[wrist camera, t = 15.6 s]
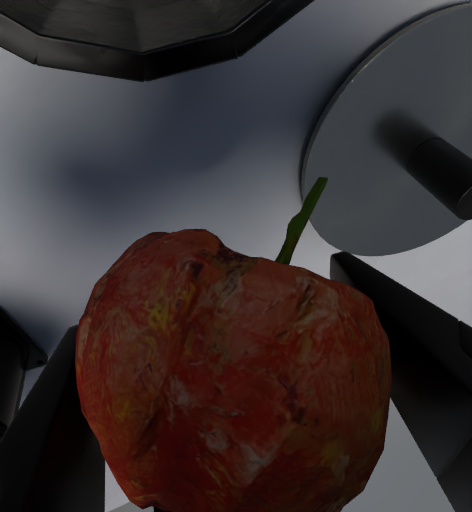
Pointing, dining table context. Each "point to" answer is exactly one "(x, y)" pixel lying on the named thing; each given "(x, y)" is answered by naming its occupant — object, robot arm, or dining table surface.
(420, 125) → the lid
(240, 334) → the red apple
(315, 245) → the dining table surface
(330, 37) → the dining table surface
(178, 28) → the pan
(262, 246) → the dining table surface
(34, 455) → the robot arm
